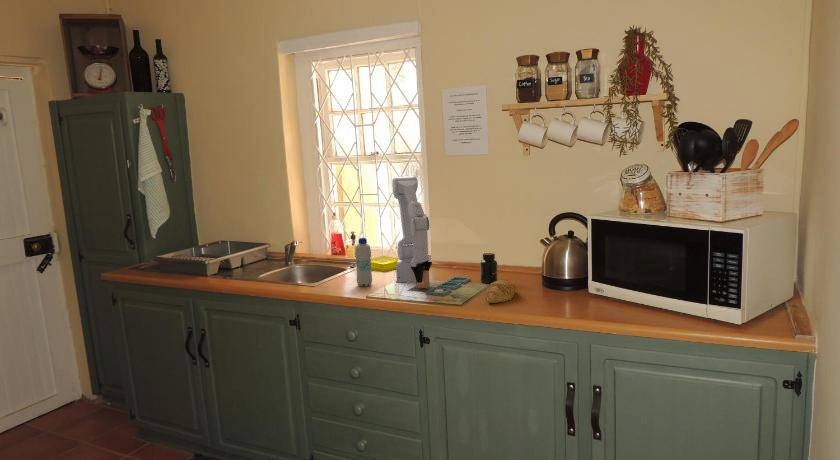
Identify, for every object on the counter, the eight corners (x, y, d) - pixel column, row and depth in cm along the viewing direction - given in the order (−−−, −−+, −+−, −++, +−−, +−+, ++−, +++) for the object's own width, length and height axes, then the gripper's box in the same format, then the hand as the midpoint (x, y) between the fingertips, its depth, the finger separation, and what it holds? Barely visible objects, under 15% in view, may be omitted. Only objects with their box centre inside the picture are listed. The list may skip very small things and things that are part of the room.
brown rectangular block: (416, 287, 225) (415, 272, 224) (420, 284, 229) (420, 270, 228) (425, 287, 223) (424, 272, 222) (429, 285, 227) (429, 270, 226)
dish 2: (437, 289, 226) (437, 285, 226) (444, 285, 232) (444, 281, 232) (454, 290, 223) (454, 287, 223) (461, 286, 229) (461, 283, 229)
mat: (406, 291, 224) (406, 290, 224) (417, 286, 232) (417, 285, 232) (427, 293, 220) (427, 292, 220) (437, 287, 228) (437, 287, 228)
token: (433, 293, 217) (433, 291, 217) (434, 291, 221) (434, 289, 221) (442, 294, 217) (442, 291, 216) (444, 291, 220) (444, 289, 220)
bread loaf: (496, 315, 200) (506, 297, 197) (473, 300, 203) (482, 281, 201) (518, 299, 218) (527, 282, 215) (496, 285, 222) (504, 268, 219)
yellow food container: (406, 267, 273) (406, 257, 273) (384, 273, 262) (383, 262, 262) (384, 264, 283) (384, 254, 283) (361, 269, 272) (361, 259, 272)
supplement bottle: (497, 284, 230) (496, 255, 228) (479, 284, 231) (479, 255, 229) (498, 281, 236) (497, 252, 235) (481, 280, 238) (480, 252, 236)
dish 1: (426, 295, 217) (426, 291, 217) (434, 291, 224) (434, 287, 223) (443, 296, 214) (443, 293, 214) (451, 292, 220) (451, 288, 220)
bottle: (375, 284, 239) (373, 236, 236) (367, 288, 233) (365, 239, 230) (361, 283, 241) (359, 236, 239) (353, 286, 235) (350, 238, 233)
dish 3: (447, 283, 235) (447, 280, 235) (454, 279, 241) (454, 276, 241) (463, 285, 232) (463, 281, 231) (470, 281, 238) (470, 277, 238)
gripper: (421, 250, 216) (422, 286, 218) (437, 244, 229) (438, 278, 230) (405, 249, 219) (406, 284, 221) (421, 243, 232) (423, 276, 234)
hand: (421, 281), depth 226 cm, fingers closed on brown rectangular block, 4 cm apart
